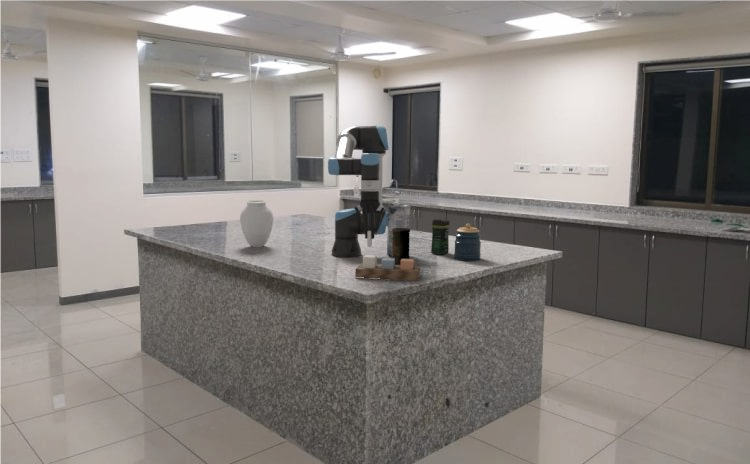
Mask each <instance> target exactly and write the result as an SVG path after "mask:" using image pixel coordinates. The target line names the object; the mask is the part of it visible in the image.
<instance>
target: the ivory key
mask: <svg viewBox="0 0 750 464" xmlns="http://www.w3.org/2000/svg"><path fill="white" fill-rule="evenodd" d="M362 264H363V268H376V264H377V255H373V254H371V255H370V254H365V255H363V257H362Z"/></svg>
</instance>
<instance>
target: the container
mask: <svg viewBox="0 0 750 464" xmlns="http://www.w3.org/2000/svg"><path fill="white" fill-rule="evenodd" d="M392 232H393V233H392V234H393V237H392V256H391V258H395V265H401V259H410V234H411V228H409V229H408V228H393V229H392Z"/></svg>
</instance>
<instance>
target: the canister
mask: <svg viewBox="0 0 750 464" xmlns="http://www.w3.org/2000/svg"><path fill="white" fill-rule="evenodd" d="M454 237H455V240H454V255H453V256H454V259H456V260H459V261H463V262H472V261H474V262H475V261H479V260H480V259H481V257H482V256H481V255H482V254H481V251H482V250H481V246H482V242H481V237H482V235H481V233H480V230H479V229H478V228H477V227H473V226H472V225H471V223H466V224H465V226H463V227H462V226H460V227H458V228H457V229H456V233H455V234H454Z"/></svg>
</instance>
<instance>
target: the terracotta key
mask: <svg viewBox="0 0 750 464" xmlns="http://www.w3.org/2000/svg"><path fill="white" fill-rule="evenodd" d="M414 262H415V260H414V258H409V259H401V266H400V269H402V270H414V266H415V265H414V264H415V263H414Z"/></svg>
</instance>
